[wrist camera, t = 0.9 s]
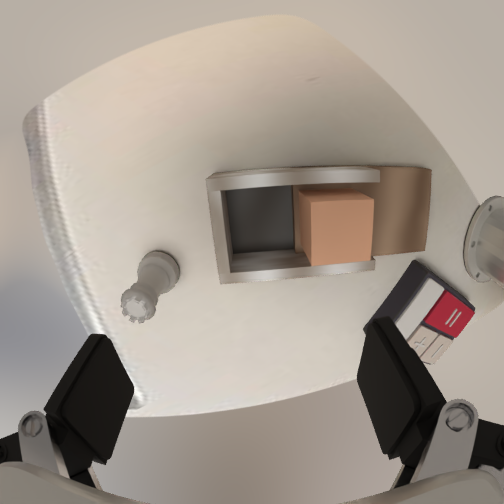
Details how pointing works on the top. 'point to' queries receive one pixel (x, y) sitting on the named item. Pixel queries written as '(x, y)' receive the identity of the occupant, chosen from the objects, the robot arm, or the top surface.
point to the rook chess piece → (149, 286)
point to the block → (336, 225)
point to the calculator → (426, 312)
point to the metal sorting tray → (288, 217)
